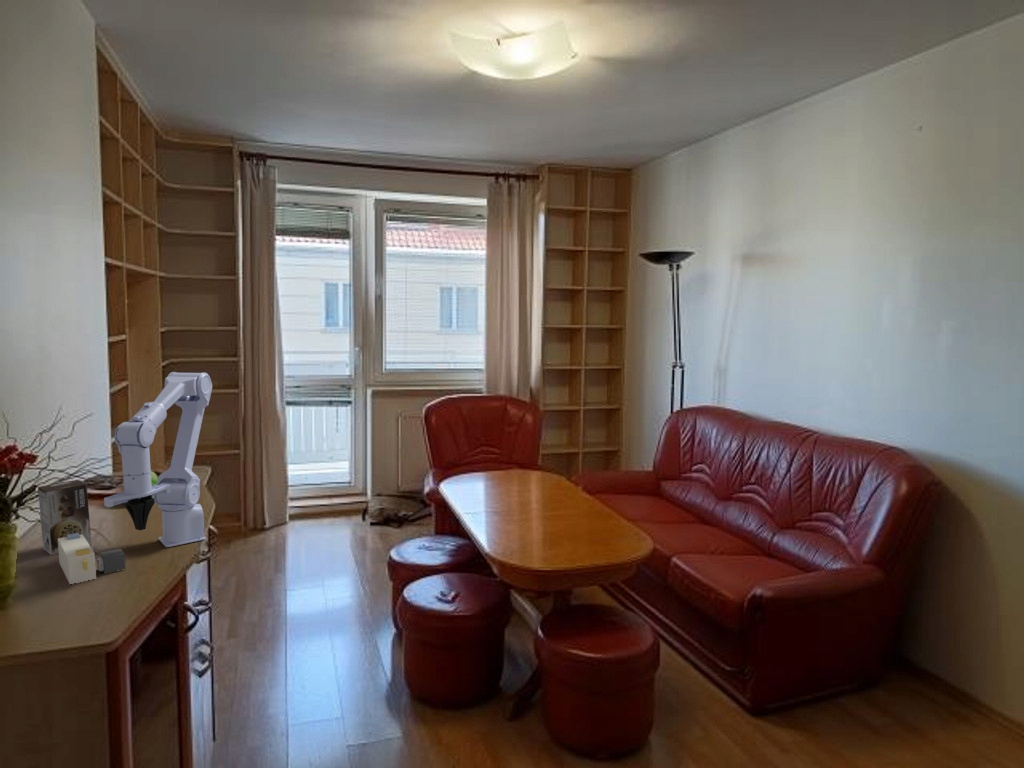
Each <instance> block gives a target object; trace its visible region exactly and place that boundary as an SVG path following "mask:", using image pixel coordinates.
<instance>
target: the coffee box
mask: <svg viewBox="0 0 1024 768" xmlns="http://www.w3.org/2000/svg"><path fill="white" fill-rule="evenodd" d="M87 485H88V484H87V483H85V482H83V481H81V480H80V479H74V480H68V481H62V482H57V483H52V484H47V485H42V486H38V487H37V490H38V491H37V492H38V502H39V517H40V525H41V526H40V527H41V538H42V550H44V551H45V552H47V553H48V554H49V555H52V556H54V555H59V550H58V538H64V537H67V535H69V534H74V533H79V534H83V536H84V537H85V539H86V541H87V542H88V544H89V545H90V546H92V544H93V543H92V531H91V521H90V511H89V510H90V509H89V508H90V507H89V499H88V497H89V496H88V486H87Z"/></svg>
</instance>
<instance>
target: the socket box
mask: <svg viewBox="0 0 1024 768" xmlns="http://www.w3.org/2000/svg"><path fill="white" fill-rule="evenodd" d="M58 550H59V553H58V561H59V562H58V563H59V565H60V567H61V569H62V571H63V573H64V575H65V578H66V580H67V581H68V584H69V585H70V584H72V585H75V584H74V583H76V584H80V582H81V583H84V581H85V582H89V581H88V580H90V581H93V580H92V579H95V580H97V572H96V571H97V570H96V555H95V551H94V550H93V548H92V547H91V545H89V544H88V542H87V541H86V539H85V537H84V536H83V534H79V533H74V534H69V535H67V537H64V538H58Z"/></svg>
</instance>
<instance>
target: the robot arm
mask: <svg viewBox="0 0 1024 768" xmlns="http://www.w3.org/2000/svg"><path fill="white" fill-rule="evenodd" d="M212 390H213V383H212V379H211V377H210V375H209V373H207V372H176V371H172V372H170V373H169V374H168V375H167V377H165V379H164V387H163V389H162V390H161V391H160V392H159V394H158V396H157V397H156V398H155V400H154V401H149V402H144V404H143V405H142V407H141V408H140V409H139V410H138V411H137V412H136V413H135V415H133V416H132V417H131V419H129V420H128V421H123V422H122V423H120V424H119V425H118V426H117V427H116V429H115V433H114V436H113V439H114V442H115V444H116V446H117V448H118V453H119V454H120V455H121V464H122V467H121V468H122V479H123V491H120V492H119V493H116V494H112V495H110V496H106V497H104V498H103V501H104V502H103V505H104V507H107V508H112V507H114V506H116V505H117V506H118V505H120V504H121V505H123V506H124V507H125V509H126V510H127V512H128V514H129V516H130V517H131V519H132V523H133V525H134V529H135V530H137V531H143V530H146V527H147V522H148V518H149V515H150V513H151V511H152V508H153V507H154V504H155V505H156V506H158V509H159V510H161V525H162V536H159V537H158V538H157V539H158V540H159V541H160V543H161V544H162V545H163V546H164V547H165V548H170V547H174V546H175V547H176V546H180V545H184V544H190V543H193V542H194V543H195V542H199V541H205V540H206V537H205V521H204V518H205V515H204V509H203V508H202V505H201V504H200V503H198V501H199V499H200V495H201V490H200V487H201V486H200V484H201V479H200V478H199V476H198V475H197V474H196V473H194V472H193V470H192V469H193V465H194V461H195V456H196V450H197V447H198V443H199V438H200V437H199V436H200V432H201V429H202V424H203V418H204V413H205V408H206V407H208V406H209V403H210V400H211V395H212ZM174 404H175V405H176V406H177V407H179V408H181V410H182V411H181V417H180V419H179V420H180V421H179V425H178V430H177V434H176V438H175V439H176V440H175V444H174V447H173V451H172V452H173V453H172V456H171V461H170V466H169V468H168V469H166V470H165V471H163V472H162V473H160V474H159V475H158V477H159V479H158V481H157V484H156V485H155V486H152V484H151V471H152V470H151V469H152V468H151V456H150V455H151V454H150V446H151V445H152V444H153V442H154V439H155V435H156V434H157V429H158V428H159V427H160V426H161V425H162V423H164V421H165V420H166V419H167V416H168V413H167V410H168V409H170V408H171V407H172V406H173V405H174ZM152 496H153V498H152Z"/></svg>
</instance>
